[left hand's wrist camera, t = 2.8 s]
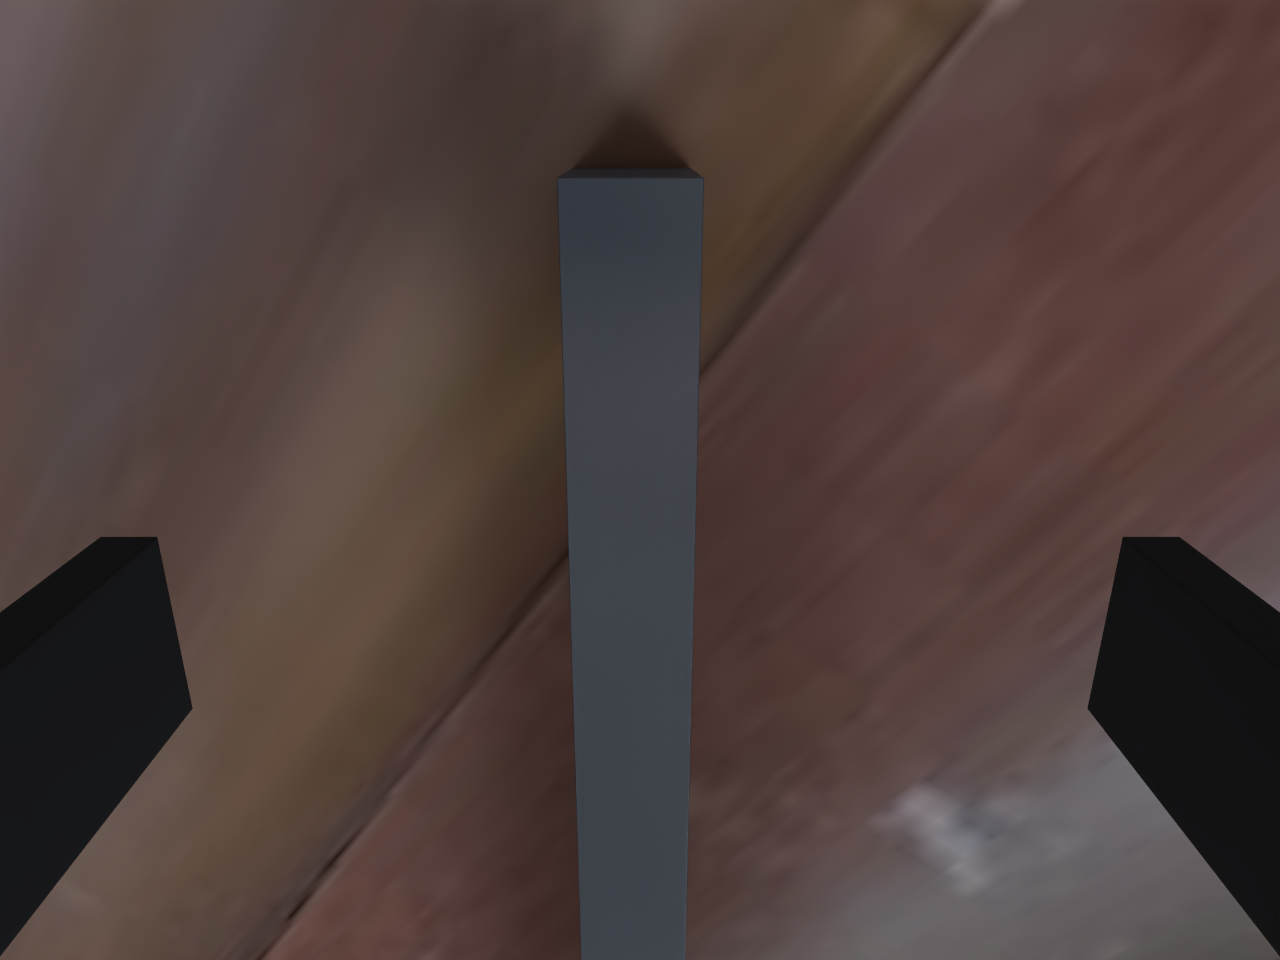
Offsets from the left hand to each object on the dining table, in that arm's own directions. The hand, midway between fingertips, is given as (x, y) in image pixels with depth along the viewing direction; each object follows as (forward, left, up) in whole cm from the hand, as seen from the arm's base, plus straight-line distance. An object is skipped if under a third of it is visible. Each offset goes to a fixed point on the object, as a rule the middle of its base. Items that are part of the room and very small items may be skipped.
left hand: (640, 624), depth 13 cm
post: (+25, -19, -29) cm, 43 cm away
